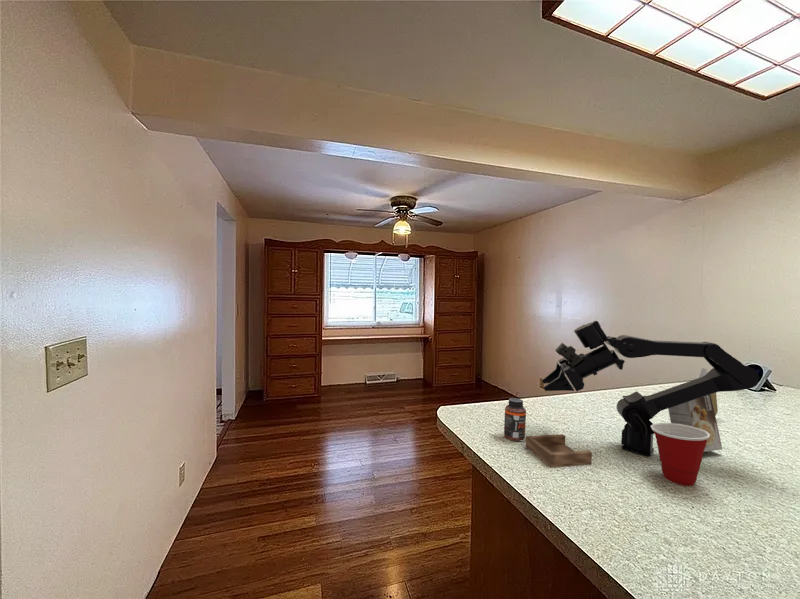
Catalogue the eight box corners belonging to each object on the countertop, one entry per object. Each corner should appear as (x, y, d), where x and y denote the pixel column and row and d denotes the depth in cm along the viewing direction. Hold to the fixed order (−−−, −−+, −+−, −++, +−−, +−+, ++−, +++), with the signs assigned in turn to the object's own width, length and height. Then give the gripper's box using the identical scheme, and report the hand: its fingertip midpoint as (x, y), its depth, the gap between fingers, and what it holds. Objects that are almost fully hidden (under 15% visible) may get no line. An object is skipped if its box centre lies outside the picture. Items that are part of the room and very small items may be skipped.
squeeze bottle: (723, 423, 120) (726, 371, 120) (700, 422, 120) (702, 370, 120) (703, 415, 128) (705, 366, 128) (681, 414, 128) (683, 366, 128)
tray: (562, 444, 98) (562, 434, 98) (591, 464, 87) (591, 452, 87) (525, 446, 96) (525, 436, 96) (550, 467, 85) (551, 455, 85)
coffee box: (698, 445, 100) (687, 388, 104) (723, 450, 94) (710, 389, 98) (674, 448, 98) (663, 389, 101) (698, 453, 92) (686, 390, 95)
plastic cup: (650, 463, 88) (652, 416, 88) (706, 478, 81) (708, 428, 81) (646, 480, 80) (648, 428, 80) (709, 498, 73) (712, 442, 73)
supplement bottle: (521, 444, 98) (522, 404, 98) (500, 438, 101) (502, 399, 101) (527, 437, 103) (529, 399, 102) (508, 432, 106) (509, 395, 106)
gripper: (573, 334, 110) (528, 356, 115) (582, 341, 92) (529, 367, 97) (593, 365, 108) (547, 387, 113) (607, 378, 91) (551, 403, 95)
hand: (543, 385), depth 104 cm, fingers open, 9 cm apart
